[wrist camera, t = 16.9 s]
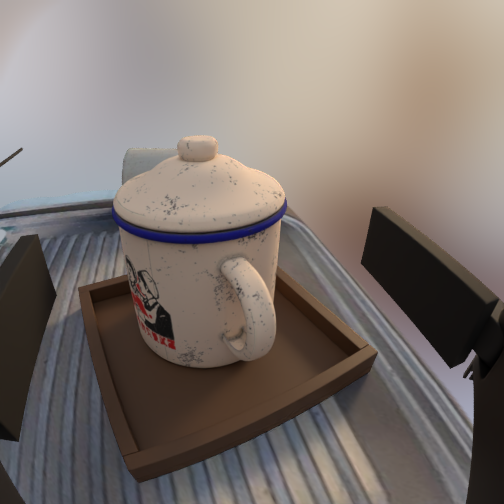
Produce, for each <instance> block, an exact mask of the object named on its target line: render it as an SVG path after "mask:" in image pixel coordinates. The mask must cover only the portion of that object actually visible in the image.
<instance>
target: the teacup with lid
mask: <svg viewBox="0 0 504 504" xmlns="http://www.w3.org/2000/svg"><path fill="white" fill-rule="evenodd" d="M177 150H178V155H177V156H174V157H171V158H168V159H166V160H164V161H162V162H161V163H159V164H158V165H157V166H155V167H154V168H153V169H152V170H150V171H147V172H144V173H142V174H140V175H137V176H135V177H133V178H132V179H130V180H128V181H127V182H126V183H124V184H123V185H122V186H121V187H120V188H119V190H118V191H117V193H116V195H115V198H114V202H113V207H112V216H113V218H114V220H115V222H116V223H117V224H118V225H119V230H120V236H121V242H122V248H123V253H124V259H125V264H126V269H127V274H128V279H129V284H130V289H131V294H132V298H133V303H134V307H135V311H136V315H137V320H138V324H139V328H140V332H141V334H142V337H143V339H144V340H145V342H146V344H147V345H148V346H149V347H150V348H151V349H152V350H153V351H154V352H155V353H156V354H158V355H159V356H161V357H162V358H164V359H166V360H168V361H170V362H172V363H175V364H178V365H182V366H187V367H193V368H213V367H220V366H224V365H228V364H231V363H234V362H237V361H239V360H243V361H252V360H255V359H258V358H260V357H262V356H264V355H266V354H267V353H268V352H269V350H270V349H271V347H272V345H273V342H274V339H275V334H276V315H275V309H274V305H273V300H274V290H275V280H276V269H277V259H278V248H279V236H280V225H281V218H282V217H283V215H284V214H285V212H286V209H287V201H286V198H285V193H284V191H283V189H282V187H281V185H280V184H279V183H278V182H277V181H276V180H275V179H274V178H273V177H271V176H269V175H268V174H266V173H264V172H261V171H259V170H255V169H252V168H248V167H245V166H244V165H243V164H241V163H239V162H238V161H237V160H235V159H233V158H231V157H229V156H225V155H221V154H217V153H218V142H217V140H216V139H215V138H214V137H211V136H204V135H203V136H202V135H198V136H197V135H196V136H188V137H184V138H182V139H181V140H180V141H179V142H178V145H177Z"/></svg>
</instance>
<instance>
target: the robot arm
mask: <svg viewBox="0 0 504 504" xmlns="http://www.w3.org/2000/svg"><path fill="white" fill-rule="evenodd" d="M22 150H23V149H22V148H20V149H19V150H18V151H16V152H15V153H14V154H12V155H11V156H9V157H8V158H7V159H5V160H4V161H2V162H1V163H0V167H1V166H2V165H4V164H5V163H6V162H8V161H9V160H10V159H12V158H13V157H14V156H16V155H17V154H18V153H19V152H21V151H22ZM361 264H362V265H363V266H364V267H365V268H366V270H367V271H368V272H369V273H370V274H371V275H372V276H373V277H374V278H375V280H376V281H377V282H378V283H379V284H380V285H381V286H382V287H383V289H384V290H385V291H386V292H387V293H388V294H389V295H390V296H391V298H392V299H393V300H394V301H395V302H396V303H397V305H398V306H399V307H400V308H401V309H402V310H403V311H404V313H405V314H406V315H407V316H408V317H409V318H410V320H411V321H412V322H413V323H414V324H415V325H416V327H417V328H418V329H419V330H420V332H421V333H422V334H423V335H424V336H425V338H426V339H427V340H428V341H429V342H430V344H431V345H432V346H433V347H434V348H435V350H436V351H437V352H438V354H439V355H440V356H441V357H442V359H443V360H444V361H445V362H446V364H447V365H448V366H449V367H450V369H451V368H453V367H455V366H457V365H459V364H461V363H463V362H465V360H466V358H467V357H468V355H469V354H470V352H471V350H472V349H473V350H474V351H475V352H476V356H475V358H474V359H473V360H472V362H471V364H470V365H469V367H468V368H467V370H466V371H465V373H464V375H463V378H466V377H467V376H468V374H469V373H470V371H473V373H472V375H471V377H470V378H469V379H470V380H473V384H474V426H473V446H472V459H471V470H470V479H469V487H468V494H467V500H466V504H504V303H503V302H502V301H501V300H500V299H499V298H498V297H497V296H496V295H495V294H494V293H493V292H492V291H491V290H489V289H488V288H487V287H486V286H485V285H484V284H483V283H482V282H481V281H480V280H478V279H477V278H476V277H475V276H474V275H473V274H472V273H470V272H469V271H468V270H467V269H466V268H465V267H463V266H462V265H461V264H460V263H459V262H458V261H456V260H455V259H454V258H453V257H451V256H450V255H449V254H448V253H447V252H446V251H444V250H443V249H442V248H441V247H439V246H438V245H437V244H436V243H434V242H433V241H432V240H431V239H429V238H428V237H427V236H426V235H424V234H423V233H422V232H420V231H419V230H418V229H416V228H415V227H414V226H413V225H411V224H410V223H409V222H407V221H406V220H405V219H403V218H402V217H401V216H399V215H398V214H396V213H395V212H394V211H392V210H391V209H390V208H388V207H373V210H372V215H371V219H370V225H369V229H368V234H367V239H366V243H365V247H364V252H363V256H362V260H361ZM56 296H57V295H56V292H55V289H54V286H53V283H52V280H51V277H50V274H49V271H48V268H47V264H46V261H45V258H44V254H43V251H42V248H41V244H40V240H39V237H38V234H35V235H27V236H21V237H20V239H19V240H18V241H17V243H16V244H15V246H14V247H13V249H12V250H11V252H10V253H9V254H8V256H7V257H6V259H5V261H4V262H3V264H2V265H1V267H0V439H3V440H10V441H17V442H19V438H20V432H21V426H22V420H23V415H24V410H25V405H26V400H27V395H28V391H29V386H30V382H31V378H32V374H33V370H34V366H35V363H36V359H37V355H38V352H39V348H40V345H41V341H42V338H43V335H44V331H45V328H46V325H47V322H48V319H49V316H50V313H51V310H52V307H53V304H54V301H55V299H56ZM0 504H26V503H25V502H24V500H23V499H22V497H21V496H20V494H19V493H18V491H17V489H16V488H15V486H14V484H13V483H12V481H11V479H10V478H9V476H8V474H7V472H6V471H5V469H4V467H3V465H2V463H1V461H0Z"/></svg>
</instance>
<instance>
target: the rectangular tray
mask: <svg viewBox="0 0 504 504" xmlns="http://www.w3.org/2000/svg"><path fill="white" fill-rule="evenodd" d="M78 291H79V297H80V303H81V309H82V314H83V320H84V325H85V330H86V334H87V339H88V344H89V348H90V352H91V357H92V361H93V365H94V369H95V373H96V376H97V380H98V384H99V387H100V391H101V394H102V398H103V401H104V404H105V408H106V411H107V414H108V417H109V420H110V423H111V426H112V429H113V432H114V435H115V438H116V441H117V443H118V446H119V449H120V451H121V454H122V456H123V459H124V462H125V464H126V467H127V469H128V471H129V472H130V473H131V475H132V476H133V477H134V478H135V479H136V481H137V482H138V483H140V482H143V481H146V480H149V479H152V478H155V477H158V476H161V475H164V474H167V473H170V472H173V471H176V470H178V469H181V468H184V467H187V466H189V465H192V464H194V463H197V462H199V461H202V460H204V459H207V458H209V457H212V456H214V455H217V454H219V453H221V452H224V451H226V450H228V449H230V448H233V447H235V446H237V445H239V444H241V443H244V442H246V441H248V440H250V439H252V438H254V437H256V436H258V435H260V434H262V433H264V432H266V431H268V430H270V429H272V428H274V427H276V426H278V425H280V424H282V423H284V422H286V421H288V420H290V419H291V418H293V417H295V416H297V415H299V414H301V413H302V412H304V411H306V410H308V409H310V408H311V407H313V406H315V405H316V404H318V403H320V402H322V401H323V400H325V399H327V398H328V397H330V396H332V395H333V394H335V393H337V392H338V391H340V390H341V389H343V388H345V387H346V386H348V385H349V384H351V383H352V382H354V381H355V380H357V379H359V378H360V377H362V376H363V375H365V374H366V373H368V372H369V371H370V370H371V367H372V365H373V363H374V361H375V358H376V356H377V354H378V351H376V350H375V349H374V348H373V347H372V346H371V345H369V344H368V343H367V342H366V341H365V340H364V339H363V338H361V337H360V336H359V335H358V334H357V333H356V332H354V331H353V330H352V329H351V328H350V327H349V326H347V325H346V324H345V323H344V322H343V321H342V320H340V319H339V318H338V317H337V316H336V315H335V314H333V313H332V312H331V311H330V310H329V309H328V308H326V307H325V306H324V305H323V304H322V303H321V302H319V301H318V300H317V299H316V298H315V297H314V296H312V295H311V294H310V293H309V292H308V291H307V290H305V289H304V288H303V287H302V286H301V285H300V284H298V283H297V282H296V281H295V280H294V279H293V278H291V277H290V276H289V275H288V274H287V273H286V272H284V271H283V270H282V269H281V268H280V267H278V266H277V269H276V280H275V290H274V300H273V305H274V309H275V315H276V334H275V339H274V342H273V345H272V347H271V349H270V350H269V352H268V353H267V354H266V355H264V356H262V357H260V358H258V359H255V360H252V361H243V360H239V361H237V362H234V363H231V364H228V365H224V366H220V367H213V368H193V367H187V366H182V365H178V364H175V363H172V362H170V361H168V360H166V359H164V358H162V357H161V356H159V355H158V354H156V353H155V352H154V351H153V350H152V349H151V348H150V347H149V346H148V345H147V344H146V342H145V340H144V339H143V337H142V334H141V332H140V328H139V324H138V320H137V315H136V311H135V307H134V303H133V298H132V294H131V289H130V284H129V279H128V274H127V275H123V276H120V277H116V278H112V279H108V280H105V281H101V282H97V283H93V284H90V285H86V286H82V287H79V288H78Z"/></svg>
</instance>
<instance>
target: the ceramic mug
mask: <svg viewBox="0 0 504 504" xmlns="http://www.w3.org/2000/svg"><path fill="white" fill-rule="evenodd" d="M177 155H178V150H177V149H157V148H155V149H154V148H153V149H147V148H130V149H128V150H127V152H126V154H125V157H124V161H123V170H122V185H123V184H124V183H126V182H127V181H128V180H130V179H132V178H133V177H135V176H137V175H140V174H142V173H144V172H147V171H150V170H152V169H153V168H154V167H155V166H157V165H158V164H159V163H161V162H162V161H164V160H166V159H168V158H171V157H174V156H177Z"/></svg>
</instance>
